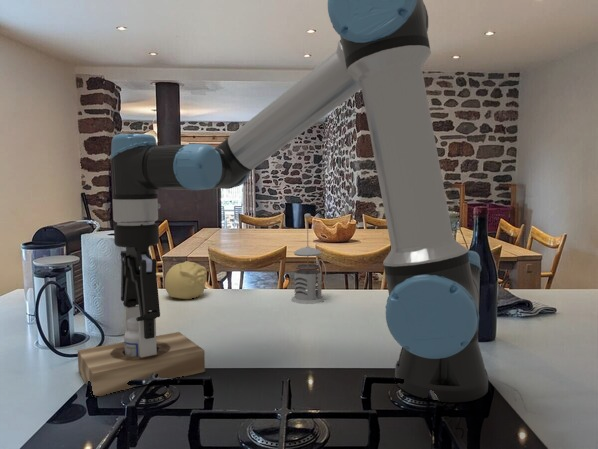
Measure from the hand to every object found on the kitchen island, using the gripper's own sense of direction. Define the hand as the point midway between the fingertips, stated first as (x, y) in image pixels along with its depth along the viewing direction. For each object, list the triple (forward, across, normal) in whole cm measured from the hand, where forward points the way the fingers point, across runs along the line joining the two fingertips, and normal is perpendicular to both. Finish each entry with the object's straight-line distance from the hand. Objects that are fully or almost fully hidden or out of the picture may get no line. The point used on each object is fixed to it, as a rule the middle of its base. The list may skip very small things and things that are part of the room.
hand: (140, 347), depth 89 cm
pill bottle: (+5, 0, 0) cm, 5 cm away
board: (+4, 0, 0) cm, 4 cm away
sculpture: (+5, +50, -28) cm, 57 cm away
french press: (+5, +26, -56) cm, 61 cm away
